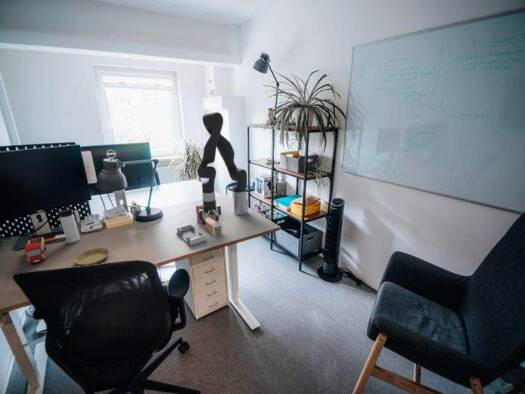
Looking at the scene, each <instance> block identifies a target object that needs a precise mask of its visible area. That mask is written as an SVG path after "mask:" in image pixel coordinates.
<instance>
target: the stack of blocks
mask: <svg viewBox="0 0 525 394" xmlns="http://www.w3.org/2000/svg"><path fill="white" fill-rule="evenodd" d="M215 202H216V203H217V199H215ZM199 209H200V210H203V199H202V200H201V201H200V202H198V203H197V204H195V212H196V220H197V223H202V220H200V219H199V211H198V210H199ZM215 211H216V212H218V211H217V208H216V210H215ZM203 213H204V211H203ZM203 213H202V216H203ZM205 215H206V214H205ZM214 215H215V214H214V213H213V214H211V215H208V216H207V217H209V218H211V219H212V216H214ZM207 217H206V218H207Z"/></svg>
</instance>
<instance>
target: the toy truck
mask: <svg viewBox="0 0 525 394" xmlns="http://www.w3.org/2000/svg"><path fill="white" fill-rule="evenodd" d="M24 248H25V250H24V252H25V255H26V258H27V261H28V262H29V264H30V265H31V264H34V263H38V262H41V261H45V260H46V255H45V250H46V249H47V246H46V243H45V239H44V237H43V236H41V237H38V238H34V239H33V238H32V239H29V240H27V243H26V245H25V246H24Z"/></svg>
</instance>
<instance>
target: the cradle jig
mask: <svg viewBox="0 0 525 394" xmlns="http://www.w3.org/2000/svg"><path fill="white" fill-rule="evenodd" d="M176 234H177V236H179V238H181V240H182V241H184V242H185V243H186V244H187V245H188V246H189V247H190V248H192V247H194V246H197V245H199V244H203V243H205V242H207V240H208V239H206V235H205V234H204V233H203V232H201V231H200V232H198V231H197V230H196V229H195V226H194V225H193V224H192V223H188V224H185V225H181V226H177V227H176Z"/></svg>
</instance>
